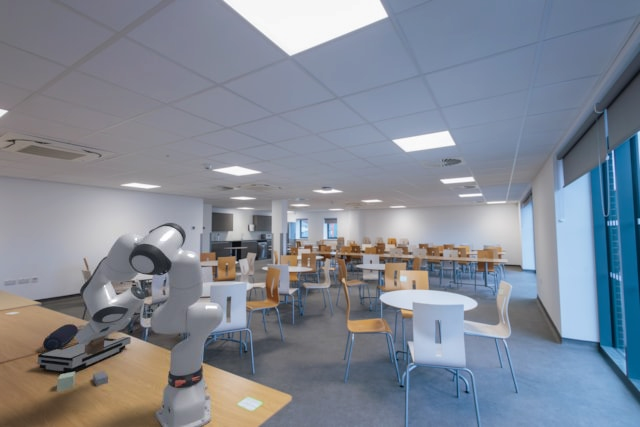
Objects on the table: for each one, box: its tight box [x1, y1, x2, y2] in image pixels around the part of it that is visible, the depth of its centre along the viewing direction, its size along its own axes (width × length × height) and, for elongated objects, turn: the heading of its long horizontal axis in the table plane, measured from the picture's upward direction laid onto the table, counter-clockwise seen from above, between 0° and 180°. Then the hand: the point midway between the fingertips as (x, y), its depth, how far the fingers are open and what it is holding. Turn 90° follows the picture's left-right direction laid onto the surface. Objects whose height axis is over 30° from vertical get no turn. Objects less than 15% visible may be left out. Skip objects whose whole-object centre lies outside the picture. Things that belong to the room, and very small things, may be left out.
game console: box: [37, 334, 132, 374], centre depth 150 cm, size 21×32×8 cm, turn 169°
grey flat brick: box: [92, 370, 109, 387], centre depth 127 cm, size 8×4×3 cm, turn 48°
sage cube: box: [56, 372, 76, 392], centre depth 122 cm, size 5×5×5 cm
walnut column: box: [84, 336, 105, 354], centre depth 118 cm, size 4×4×8 cm
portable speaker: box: [42, 323, 78, 351], centre depth 168 cm, size 25×10×10 cm, turn 24°
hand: (93, 340), depth 118 cm, fingers closed on walnut column, 4 cm apart
